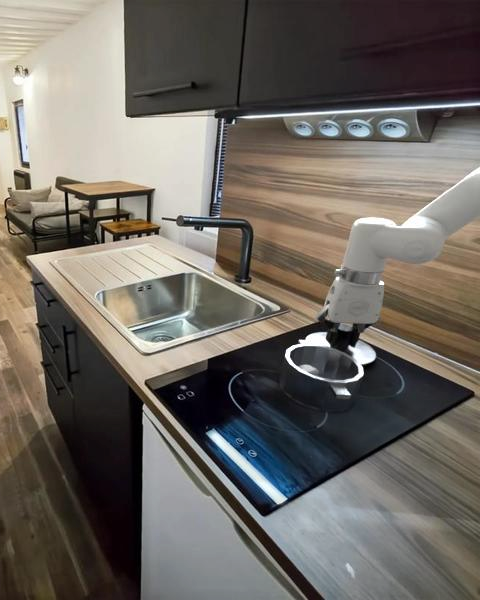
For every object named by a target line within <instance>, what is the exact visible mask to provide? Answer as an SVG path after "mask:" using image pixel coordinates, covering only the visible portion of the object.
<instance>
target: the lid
mask: <svg viewBox="0 0 480 600" xmlns="http://www.w3.org/2000/svg"><path fill="white" fill-rule="evenodd" d="M353 331H354V329H353V326H351V325H349V324H346V323H341V324H340V326H339V328H338V330H337V332H338V333H339V335H338V338H337V342H336V345H335V346H334V347H332V346H331V345H330V344H329V343H328V342H327V340H326V335H327V331H318V332H313V333H311V334H309V335H307V336H306V337H305V339H304V340H310V341H311V342H312V344H316V345H322V346H327V347H331V348H334V349H336V350H339V351H342V352H344V353H346V354H348V355H349V356H351V357H353V358H354V359H356V360H357V361H358V362H359V364H360V365H361V366H362V367H364V366H365V367H366V366H368V365H371V364H373V363H374V362H375V361H376V359H377V353H376V351H375V350H374V348H373V347H372V346H370V345H369V344H368V343H366V342H364V341H362V340H361V339H358V342H357V343H356V346H355V347H351V346H350V345H349V344H350V341H351V338H352V334H353Z"/></svg>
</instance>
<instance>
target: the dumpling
mask: <svg viewBox="0 0 480 600" xmlns="http://www.w3.org/2000/svg"><path fill="white" fill-rule="evenodd" d="M298 367H299V368H300V369H301V370H303V371H305V372H307V373H309V374H312V375H314V376H315V375H317V374H318V373H319V371H318V370H317V369H316V368H314V367H312V366H310V365H307V364H305V365H301V366H298Z"/></svg>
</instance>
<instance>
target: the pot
mask: <svg viewBox="0 0 480 600" xmlns="http://www.w3.org/2000/svg"><path fill="white" fill-rule="evenodd" d="M305 364H307V365H310V366H312V367H314V368H316V369H317V370H318V371H319V373H318V374H317V375H315V376H314V375H312V374H309V373H307V372H305V371H303V370H301V369H300V368H299V367H298V366H301V365H305ZM364 376H365V374H364V366H361V365H360V364H359V362H358V361H357V360H356V359H354V358H353V357H351V356H349V355H348V354H346V353H344V352H342V351H339V350H336V349H334V348H331V347H327V346H322V345H316V344H312V342H311V341H310V340H305V339H298V343H297V344H294V345H292V346H290V347H289V348H287V349H286V350H285V355H284V359H283V363H282V368H281V372H280V375H279V380H278V384H279V387H280V389H281V391H282V392H283V394H284V395H285V396H286V397H287V398H289V399H290V400H292V401H293V402H294V403H297V404H298V405H300V406H302V407H305V408H307V409H310V410H312V411H316V412H321V413H331V414H335V413H336V414H337V413H343V412H346V411H347V410H349V409H350V408H352V406H353V405H354V403H355V401H356V398H357V396H358V393H359V390H360V388H361V387H360V386H361V384H362V381H363V378H364Z"/></svg>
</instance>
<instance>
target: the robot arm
mask: <svg viewBox="0 0 480 600" xmlns="http://www.w3.org/2000/svg"><path fill="white" fill-rule="evenodd" d="M479 218H480V166H479V167H478V168H476V169H475V170H473V171H472V172H471V173H470V174H468V175H467V176H466V177H464V178H463V179H462V180H460V181H459V182H458V183H457V184H455V185H454V186H451V188H450V189H448V190H446V191H445V192H443V193H442V194H441V195H440V196H438V197H437V198H436V199H434V200H433V201H432V202H430V203H429V204H427V205H426V206H425V207H423V208H422V209H420V211H418V212H417V213H415V214H414V215H413V216H411V217H409V219H408V220H406V221H405V222H404V223H403V224H402V225H397V224H396V223H395V222H394V221H393V220H390V219H387V218H386V219H385V218H381V217H363V218H359V219H357V220H355V221H354V222H353V223H352V225H351V229H350V234H349V236H348V241H347V245H346V247H345V248H346V249H345V253H344V256H343V260H342V264H341V265H340V268H339V269H334V270H333V275H334V276H336V277H335V278H334V280H333V282H332V284H331V286H330V288H329V290H328V292H327V295H326V298H325V302H324V305H323V307H322V309H321V310H320V311H319V312H318V313H317V314H316V315H315V316H314V317H315V319H316V320H317V321H318V322H320V323H322V324H324V325H325V326H326V327H327V331H326V332H327V335H326V340H327V342H328V343H329V344H330V345H331V346H332V347H334V346H335V345H336V342H337V338H338V335H339V333H338V332H337V330H338V328H339V326H340V324H352V327H353V329H354V331H353V334H352V338H351V341H350V344H349V345H350V346H351V347H355V346H356V343H357V342H358V340H360V335H361V334H363V333H364V332H365V330H366V329H368V328H369V327H371V326H372V325H376V324H378V323H381V321H382V317H381V316H380V315H381V311H382V307H383V301H384V296H385V295H384V294H385V283H384V281H382V277H383V275H384V271H385V269H386V264H387V261H388V259H391V260H394V261H397V262H401V263H405V264H410V265H411V264H412V265H420V264H421V265H422V264H426V263H430V262H432V261H434V260H435V259H436V258H438V257H439V256H440V255H441V253H442V252H443V250H444V247H445V241H446V240H447V239H448V238H449V237H451V236H452V235H454V234H455V233H457V232H458V231H460V230H461V229H463V228H465V227H466V226H468V225H469V224H471V223H472V222H474V221H475V220H478V219H479Z"/></svg>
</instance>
